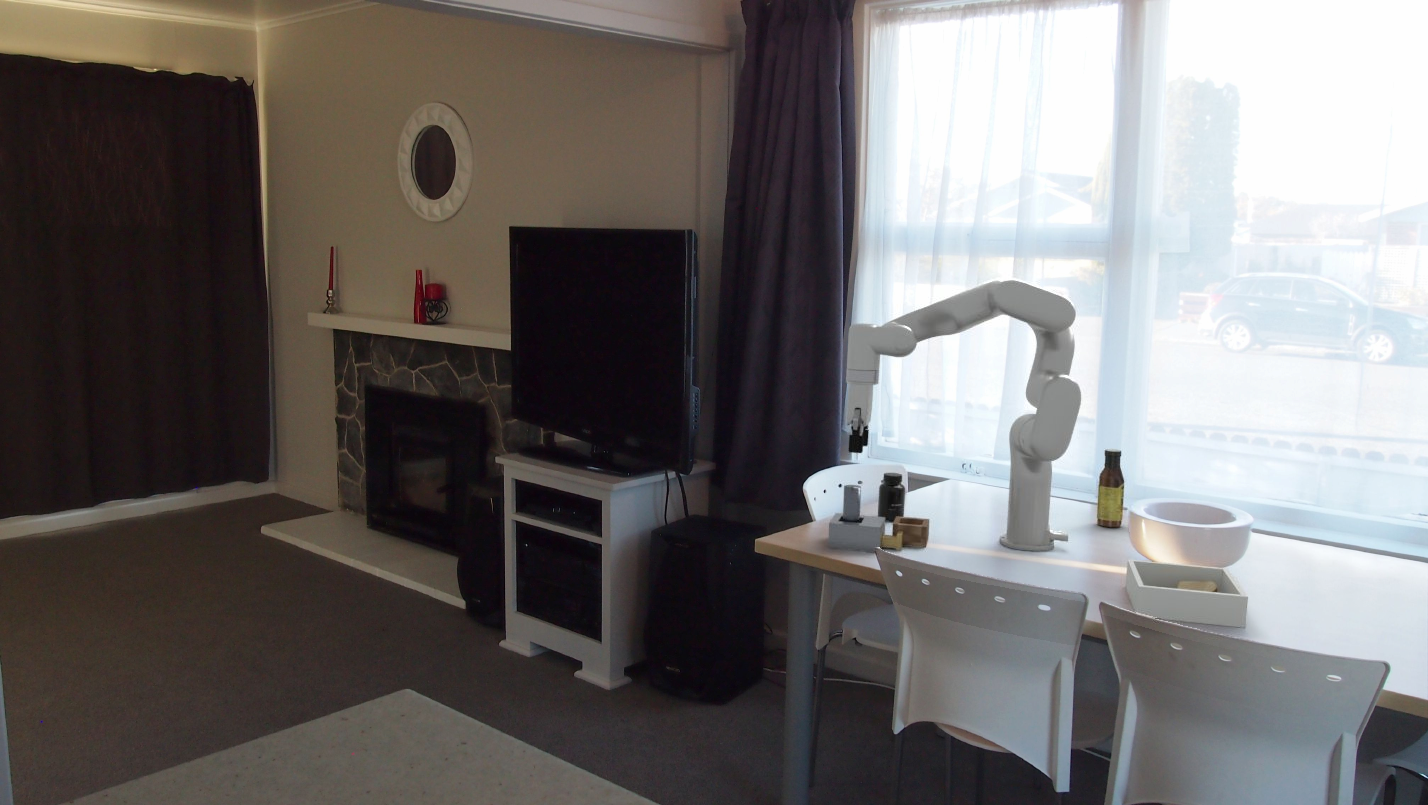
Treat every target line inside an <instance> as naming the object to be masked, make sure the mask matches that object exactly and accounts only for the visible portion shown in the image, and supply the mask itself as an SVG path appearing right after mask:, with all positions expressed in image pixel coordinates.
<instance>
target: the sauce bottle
mask: <svg viewBox="0 0 1428 805" xmlns="http://www.w3.org/2000/svg"><path fill="white" fill-rule="evenodd" d="M1121 457H1122V450H1120V449H1114V448H1107V449H1106V448H1105V450H1104V467H1103V469H1102V470H1101V472H1100V473H1099V476H1098V477H1099V481H1098V487H1097V488H1098V491H1097V507H1096V508H1097V510H1096V513H1097V514H1096V520H1097V521H1096V523H1097V525H1099V526H1101V527H1105V528H1119V527H1121V526H1122V522H1123V513H1124V499H1125V498H1124V497H1125V478H1124V474H1123V470H1122V467H1121Z"/></svg>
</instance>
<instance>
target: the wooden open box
mask: <svg viewBox="0 0 1428 805" xmlns="http://www.w3.org/2000/svg"><path fill="white" fill-rule="evenodd" d="M898 531H902V532H903V547H904V546H905V547H914V548H915V547H916V548H925V549H926V548H927V546H928V542H929V537H930V536H929V535H930V532H929V531H930V518H923V517H922V518H920V517H909V516H904V517H899V516H896V518H895V520H894V522H893V523H892V533H891V535H893V536H897V533H898Z"/></svg>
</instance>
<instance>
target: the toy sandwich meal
mask: <svg viewBox="0 0 1428 805" xmlns="http://www.w3.org/2000/svg"><path fill="white" fill-rule="evenodd" d="M1156 587H1157V586H1156ZM1177 589H1186V590H1196V591H1207V592H1217V585H1216V583H1215V582H1212V581H1207V582H1200V581H1179V583H1178V586H1177Z"/></svg>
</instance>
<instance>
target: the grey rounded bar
mask: <svg viewBox="0 0 1428 805" xmlns="http://www.w3.org/2000/svg"><path fill="white" fill-rule="evenodd" d="M861 497H862V486H861V485H858V484H845V485H844V486H843V503H842V504H843V505H842V506H843V507H842V514H843V522H852V523H860V515H861V502H862V500H861Z"/></svg>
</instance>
